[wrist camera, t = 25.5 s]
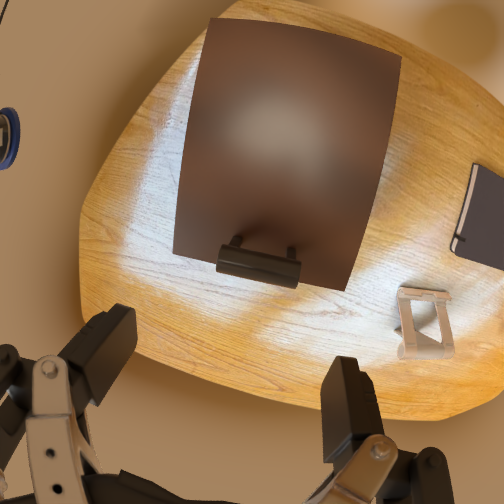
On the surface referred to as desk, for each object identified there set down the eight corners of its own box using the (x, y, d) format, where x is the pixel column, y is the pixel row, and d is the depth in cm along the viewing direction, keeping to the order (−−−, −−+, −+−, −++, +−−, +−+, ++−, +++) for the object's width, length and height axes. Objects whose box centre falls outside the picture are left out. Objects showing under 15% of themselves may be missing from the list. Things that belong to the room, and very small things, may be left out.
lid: (342, 287, 22) (354, 325, 17) (175, 250, 22) (148, 279, 18) (398, 59, 14) (427, 39, 10) (212, 21, 15) (191, -8, 10)
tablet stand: (446, 290, 33) (472, 321, 25) (427, 332, 36) (446, 368, 28) (399, 284, 34) (421, 319, 26) (381, 330, 37) (396, 369, 29)
